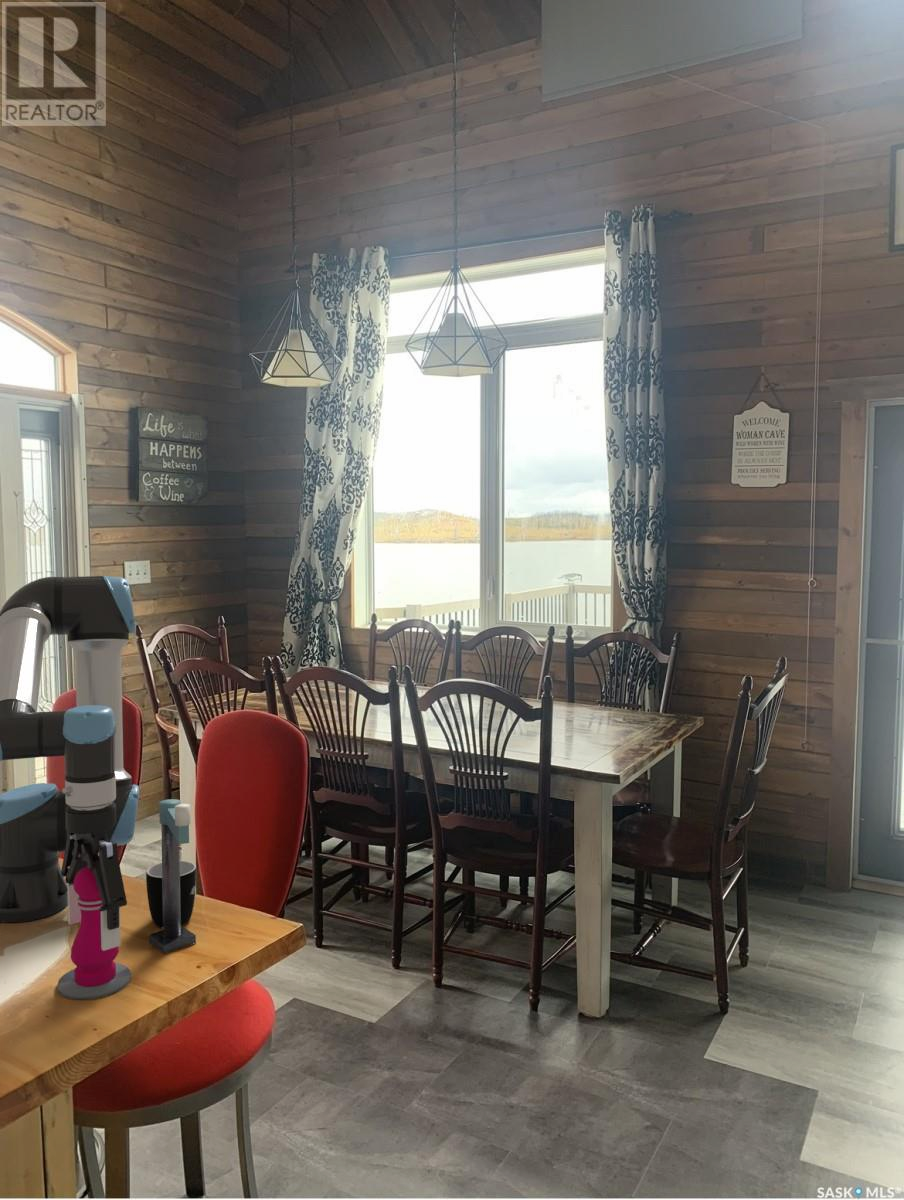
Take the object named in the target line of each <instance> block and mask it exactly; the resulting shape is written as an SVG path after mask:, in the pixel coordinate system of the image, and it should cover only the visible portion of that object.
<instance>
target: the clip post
mask: <svg viewBox="0 0 904 1200" xmlns="http://www.w3.org/2000/svg"><path fill="white" fill-rule="evenodd" d="M160 826H161V827H160V828H161V863H162V892H163V928H162V930H158V931H155V932H151V933H149V934H148V941H147V942H148V944H149V945H151V944H152V945H151V946H152V947H154V948H155V949H157V950H158V951H160V952H162V953H163V954H164V955H165V954H167V952H168V953H170V951H171V952H173V950H174V951H177V950H180V949H183V948H186V947H188V945H189V946H191V944H192V945H194V944H193V943H195V944H197V936H196V935H197V934H195V933H193V932H192V931H190V930H189V929H187V928H186V927H184V926H183V925H182V926H181V912H180V861H181V860H180V859H181V858H180V857H181V856H180V855H181V854H180V853H181V852H180V844H179V843H178V842H177V840H176V838H175V837H174V835H173V834H172V832H171V830H170V829H169V827H168V825H163V824H160ZM185 946H186V947H185ZM182 947H183V948H182ZM179 948H180V949H179ZM176 949H177V950H176Z"/></svg>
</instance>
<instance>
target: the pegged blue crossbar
mask: <svg viewBox="0 0 904 1200" xmlns="http://www.w3.org/2000/svg"><path fill="white" fill-rule="evenodd" d="M158 803H159V804H158V808H159V809H158V812H159V815H158V816H159V819H158V820H159V824H160V825H161V824H163V825H168V827H169V829H170V830H171V832H172V834H173V835H174V837H175V838H176V840H177V842H178V843H179V845H184V844H190V825H191V805H190V804H188V803H181V800H180V799H175V798H174V799H173V798H171V799H170V798H169V799H164V800H161V801H159V802H158Z"/></svg>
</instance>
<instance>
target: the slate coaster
mask: <svg viewBox="0 0 904 1200" xmlns="http://www.w3.org/2000/svg"><path fill="white" fill-rule="evenodd" d="M115 964H116V975H115V977H114V978H113V979H112V980H111V981H109V982H107V983H105V984H102V985H98V986H92V987H85V986H80V985H78V984H77V983H76V982H75V979H74V971H75V968H73V969H70V970H69V971H67V972H65V973H64V974H63V975H62V976H61V977H60V978H58V979H59V980H58V982H57V992H58V994H59V995H61V997H63V998H67V999H69V998H71V999H70V1000H76V999H77V1000H78V999H79V1000H80V1001H81V999H82V1000H83V999H87V1000H93V999H94V998H95V999H99V998H98V997H100V998H104V997H107V996H110V995H112V994H115V993H117V992H119V991H121V990H122V989H124V988H125V987H126V986H127V985H128V984H129V983H130V981H131V977H132V976H131V973H132V972H131V969H130V968H129V967H128V966H127V965H125V964H123V963H119V962H115ZM103 996H104V997H103ZM79 1000H78V1001H79ZM83 1001H84V1000H83Z"/></svg>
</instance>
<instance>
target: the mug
mask: <svg viewBox="0 0 904 1200" xmlns="http://www.w3.org/2000/svg"><path fill="white" fill-rule="evenodd" d="M145 878H146V879H145V883H146V893H147V901H148V908H149V913H150V916H151V920H152V922H153V923H154V925H155V926H156V927H158V928H161V927H163V892H162V862H158V863H155V864H153V865H151V866H149V867H148V868H147V870H146V871H145ZM196 887H197V865H196V864H194V863H193V862H190V861H188V860H180V912H181V925H182V926H185V925H186V924H187V923H189V921H190V920H191V918H192V915H193V911H194V907H195V906H194V905H195V898H196V897H195V896H196Z"/></svg>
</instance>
